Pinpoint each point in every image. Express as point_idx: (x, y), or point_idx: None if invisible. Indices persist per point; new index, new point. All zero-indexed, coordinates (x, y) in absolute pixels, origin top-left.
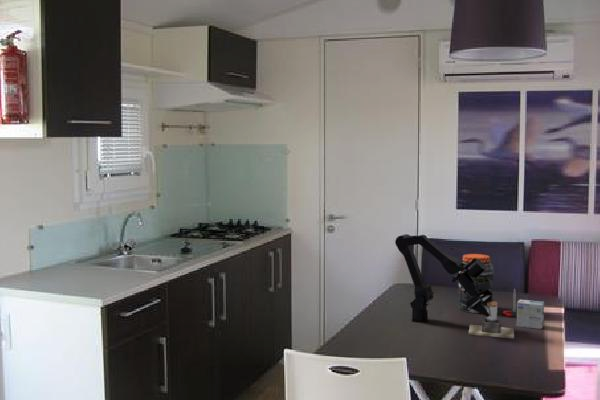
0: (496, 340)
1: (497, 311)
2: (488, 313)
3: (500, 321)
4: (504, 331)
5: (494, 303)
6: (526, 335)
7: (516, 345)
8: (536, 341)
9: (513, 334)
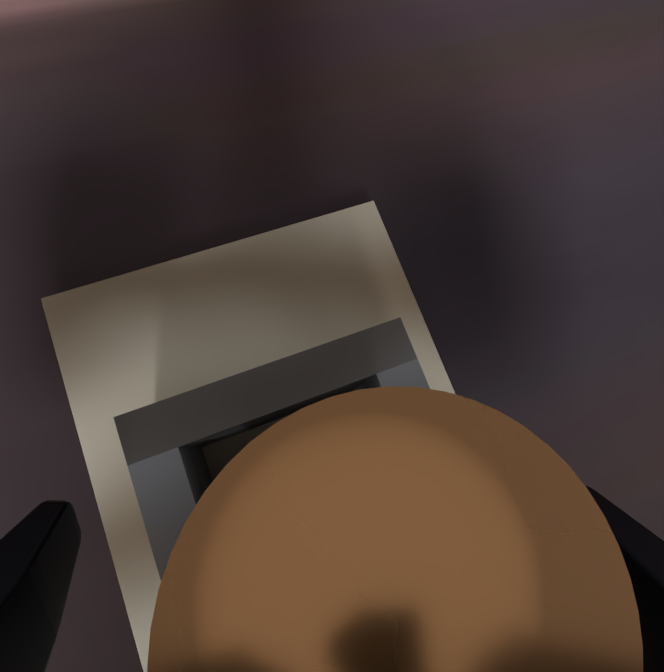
0: (551, 330)
1: (58, 502)
2: (610, 519)
3: (267, 374)
4: (262, 339)
5: (549, 448)
6: (176, 143)
7: (564, 137)
8: (327, 29)
9: (321, 220)
